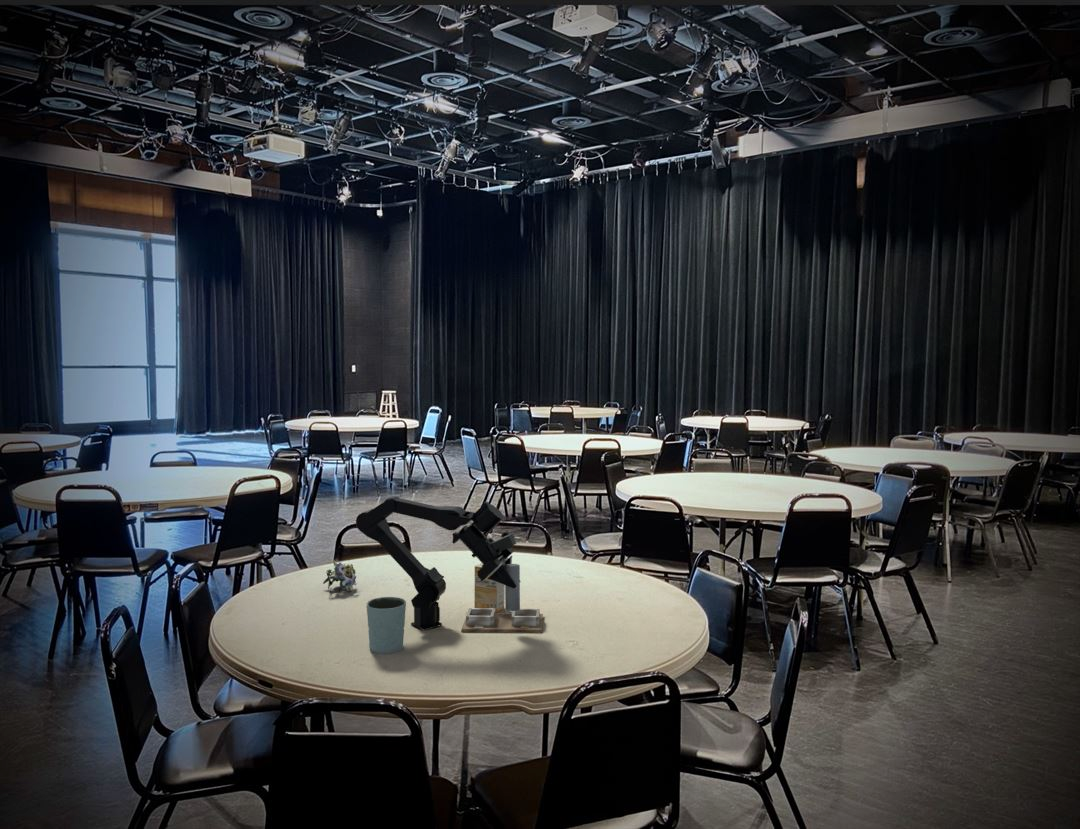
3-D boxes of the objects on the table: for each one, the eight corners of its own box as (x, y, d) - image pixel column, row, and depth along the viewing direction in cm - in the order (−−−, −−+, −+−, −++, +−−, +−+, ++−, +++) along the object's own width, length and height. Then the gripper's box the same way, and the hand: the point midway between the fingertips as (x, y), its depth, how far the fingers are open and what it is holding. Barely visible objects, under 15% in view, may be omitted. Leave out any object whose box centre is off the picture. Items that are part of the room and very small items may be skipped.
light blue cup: (389, 638, 211) (388, 594, 210) (414, 647, 205) (414, 601, 204) (358, 649, 203) (358, 603, 203) (384, 658, 197) (383, 610, 196)
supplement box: (473, 608, 238) (473, 565, 237) (482, 604, 242) (481, 562, 241) (497, 612, 234) (497, 569, 233) (505, 608, 238) (505, 565, 237)
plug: (514, 611, 214) (514, 568, 213) (502, 609, 216) (502, 566, 215) (522, 608, 217) (522, 564, 216) (510, 605, 219) (510, 563, 219)
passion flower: (350, 607, 257) (350, 583, 250) (317, 601, 257) (316, 577, 250) (360, 580, 266) (361, 557, 259) (329, 574, 266) (328, 551, 259)
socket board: (461, 631, 216) (461, 619, 216) (467, 616, 230) (467, 604, 230) (541, 632, 216) (541, 620, 216) (542, 616, 230) (542, 605, 230)
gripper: (488, 530, 207) (530, 574, 205) (506, 517, 225) (544, 557, 223) (460, 559, 209) (501, 602, 207) (480, 543, 227) (517, 583, 225)
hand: (517, 585), depth 216 cm, fingers closed on plug, 4 cm apart
